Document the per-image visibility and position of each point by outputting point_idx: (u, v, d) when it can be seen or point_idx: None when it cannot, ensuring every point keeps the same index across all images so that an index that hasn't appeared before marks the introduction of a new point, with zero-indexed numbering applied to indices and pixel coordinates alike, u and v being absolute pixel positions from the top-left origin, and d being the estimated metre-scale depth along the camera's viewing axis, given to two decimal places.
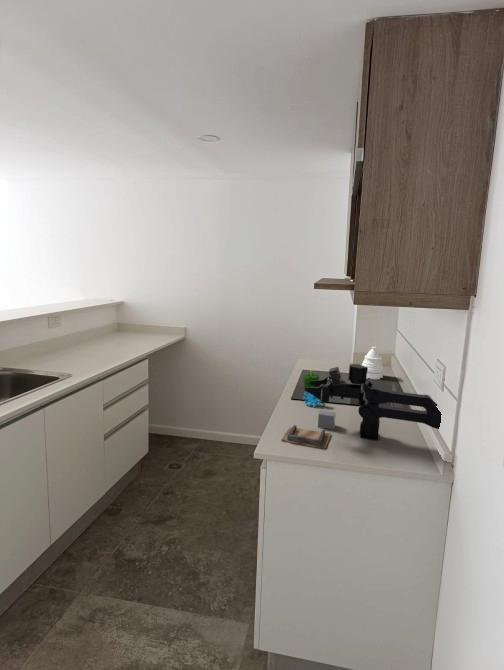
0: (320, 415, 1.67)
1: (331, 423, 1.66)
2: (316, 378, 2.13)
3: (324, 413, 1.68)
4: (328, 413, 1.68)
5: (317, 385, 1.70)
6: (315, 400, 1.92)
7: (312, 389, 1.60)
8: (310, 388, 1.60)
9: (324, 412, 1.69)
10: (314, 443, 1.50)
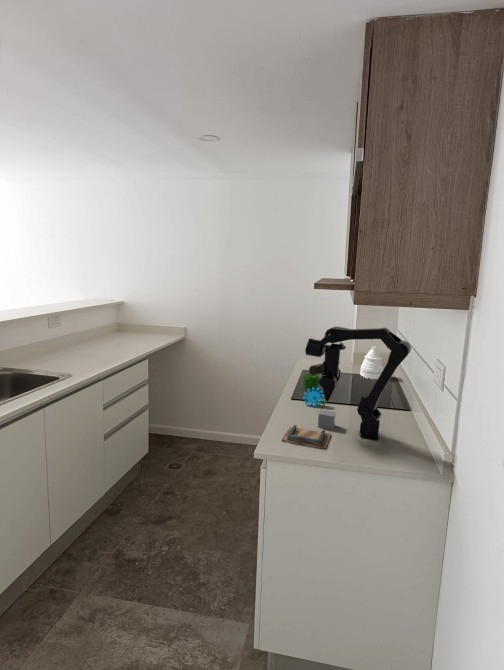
0: (320, 415, 1.67)
1: (331, 423, 1.66)
2: (316, 378, 2.13)
3: (324, 413, 1.68)
4: (328, 413, 1.68)
5: None
6: (315, 400, 1.92)
7: (325, 393, 1.62)
8: (325, 395, 1.62)
9: (324, 412, 1.69)
10: (314, 443, 1.50)
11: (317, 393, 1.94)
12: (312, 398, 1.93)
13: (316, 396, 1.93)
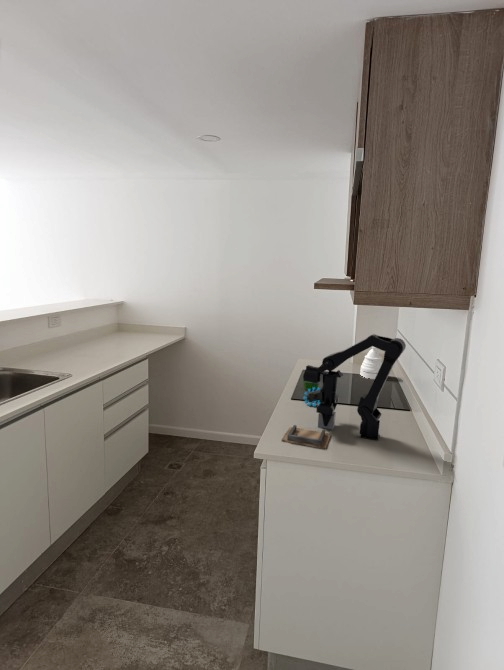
0: (320, 415, 1.67)
1: (331, 423, 1.66)
2: None
3: None
4: None
5: None
6: None
7: (324, 418, 1.65)
8: (324, 420, 1.66)
9: None
10: (314, 443, 1.50)
11: None
12: None
13: None
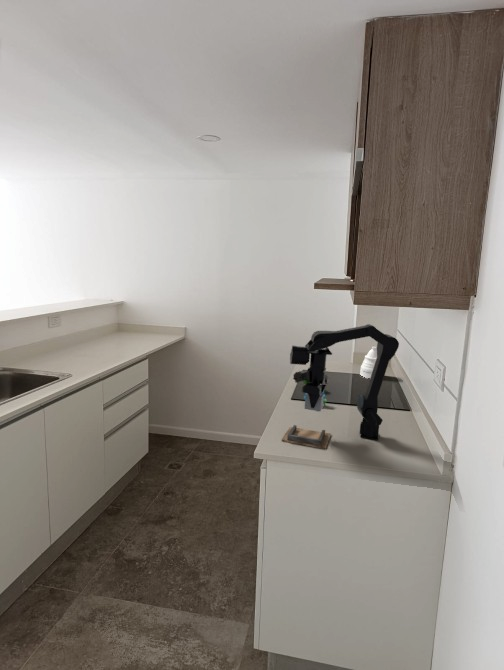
0: (307, 396, 1.57)
1: (318, 404, 1.56)
2: None
3: None
4: None
5: None
6: None
7: (311, 399, 1.55)
8: (311, 402, 1.55)
9: None
10: (314, 443, 1.50)
11: None
12: None
13: None
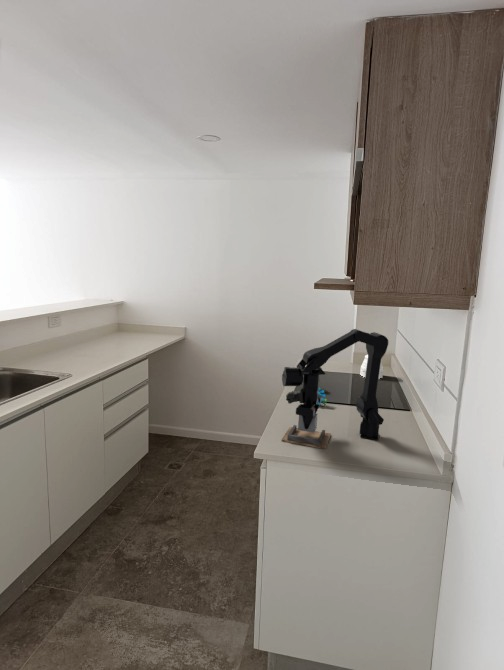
0: (300, 417, 1.54)
1: (312, 425, 1.53)
2: None
3: None
4: None
5: None
6: None
7: (305, 421, 1.52)
8: (304, 423, 1.53)
9: None
10: (314, 443, 1.50)
11: (318, 393, 1.94)
12: None
13: None
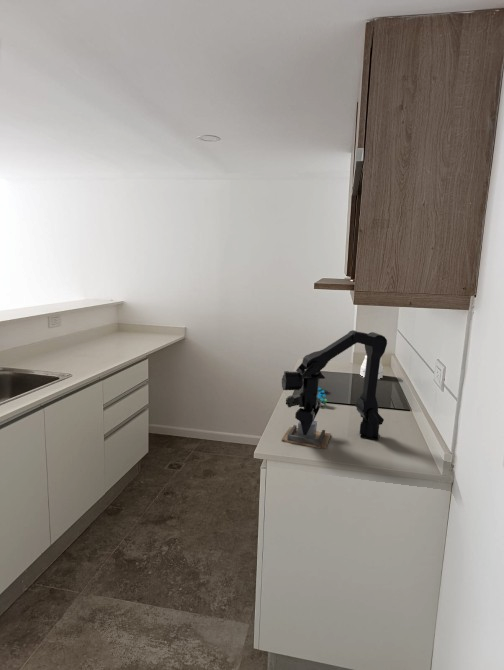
0: (300, 424, 1.54)
1: (311, 433, 1.53)
2: None
3: None
4: None
5: None
6: None
7: (303, 427, 1.51)
8: (303, 429, 1.51)
9: None
10: (314, 443, 1.50)
11: None
12: None
13: None
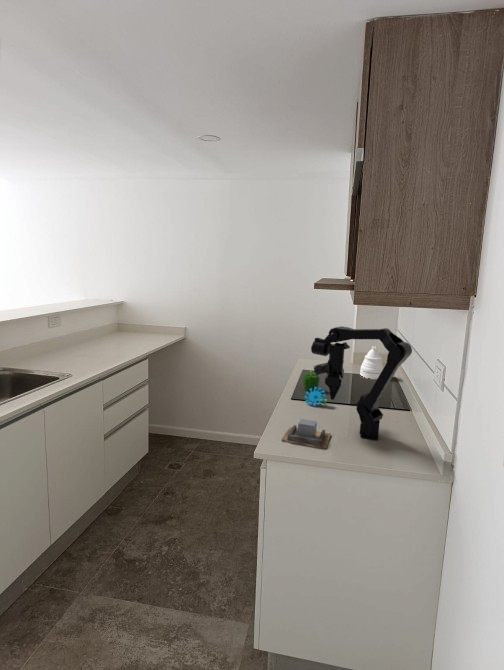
0: (300, 424, 1.54)
1: (311, 433, 1.53)
2: (316, 378, 2.13)
3: (304, 423, 1.55)
4: (309, 422, 1.56)
5: None
6: (316, 399, 1.92)
7: (331, 392, 1.64)
8: (331, 394, 1.65)
9: (304, 421, 1.57)
10: (314, 443, 1.50)
11: (318, 393, 1.94)
12: (313, 397, 1.93)
13: (317, 396, 1.93)
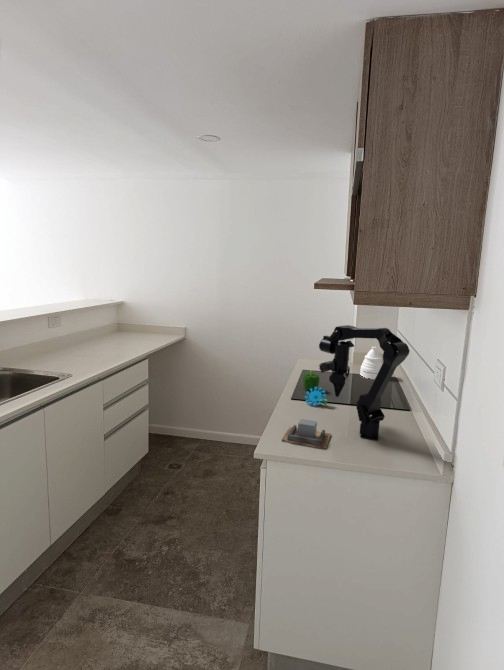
0: (300, 424, 1.54)
1: (311, 433, 1.53)
2: (316, 378, 2.13)
3: (304, 423, 1.55)
4: (309, 422, 1.56)
5: None
6: (316, 399, 1.92)
7: (336, 389, 1.67)
8: (335, 391, 1.68)
9: (304, 421, 1.57)
10: (314, 443, 1.50)
11: (319, 393, 1.94)
12: (313, 397, 1.94)
13: (317, 396, 1.93)
